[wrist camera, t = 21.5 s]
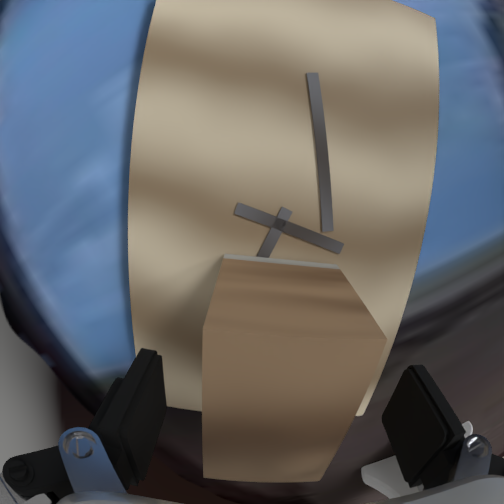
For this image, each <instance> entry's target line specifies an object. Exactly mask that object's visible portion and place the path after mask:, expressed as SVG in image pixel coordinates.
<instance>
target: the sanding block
mask: <svg viewBox="0 0 504 504" xmlns="http://www.w3.org/2000/svg"><path fill="white" fill-rule="evenodd" d="M386 342H387V338H386V336H385V335H384V333H383V332H382V330H381V329H380V327H379V325H378V324H377V322H376V321H375V319H374V318H373V316H372V315H371V313H370V312H369V310H368V309H367V307H366V306H365V304H364V303H363V301H362V300H361V299H360V297H359V296H358V294H357V293H356V291H355V290H354V288H353V287H352V285H351V284H350V283H349V281H348V280H347V278H346V277H345V275H344V274H343V273H342V271H341V270H340V268H339V267H338V266H337V265H336V264H326V263H316V262H305V261H295V260H285V259H274V258H264V257H254V256H244V255H234V254H224V258H223V261H222V264H221V268H220V271H219V274H218V278H217V281H216V285H215V288H214V291H213V295H212V298H211V302H210V305H209V309H208V312H207V316H206V319H205V323H204V326H203V342H202V443H203V475H204V478H213V479H222V480H233V481H248V482H311V481H320V479H321V478H322V476H323V474H324V473H325V471H326V469H327V468H328V466H329V464H330V462H331V461H332V459H333V457H334V455H335V454H336V452H337V450H338V448H339V446H340V445H341V443H342V441H343V439H344V437H345V435H346V433H347V431H348V429H349V427H350V425H351V423H352V421H353V419H354V417H355V415H356V413H357V411H358V409H359V407H360V405H361V403H362V400H363V398H364V396H365V394H366V392H367V389H368V387H369V385H370V382H371V380H372V378H373V375H374V373H375V370H376V368H377V365H378V363H379V360H380V358H381V355H382V353H383V350H384V347H385V345H386Z"/></svg>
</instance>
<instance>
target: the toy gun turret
mask: <svg viewBox="0 0 504 504" xmlns="http://www.w3.org/2000/svg"><path fill="white" fill-rule="evenodd" d="M462 426H463V427H464V429H465V431H466V433H465V434H464V437H465V438H466V437H467V436H469V435H471V434H472V431H473V427H472V425H471V423H470V422H469V421H467V422H465V423H463V424H462ZM361 474H362V479H363V481H364V483H365V484H367V485H369V486H371V487H373V488H375V489H376V490H378V491H379V492H381V493H383V494H384V495H386V496H387V497H388V498H389V499H392V498H396V497H401V496H405V495H409V494H412V493H416V492H420V491H423V488H424V486H423V484H421V485H420V486H416V487H412V488H410V487H409V484H408V482H405V480H404V478H403V475H402V473H401V470H400V467H399V464H398V462H397V459H396V456H395V455H394V456H392V457H389V458H386V459H384V460H381V461H378V462H375V463H372V464H369V465H366V466H363V467H362V468H361Z"/></svg>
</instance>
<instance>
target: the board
mask: <svg viewBox="0 0 504 504" xmlns="http://www.w3.org/2000/svg"><path fill="white" fill-rule="evenodd" d="M438 120H439V60H438V44H437V32H436V22H435V18H433V17H431V16H429V15H427V14H425V13H422V12H420V11H418V10H415V9H413V8H410V7H408V6H405V5H403V4H400V3H397V2H395V1H392V0H156V3H155V7H154V11H153V15H152V19H151V23H150V28H149V32H148V37H147V41H146V46H145V51H144V56H143V62H142V67H141V73H140V79H139V86H138V93H137V100H136V107H135V115H134V124H133V134H132V145H131V158H130V173H129V196H128V263H129V286H130V301H131V314H132V325H133V335H134V344H135V353H136V356H137V354H138V352H139V351H140V349H141V348H145V349H151V350H156V351H157V354H158V355H161V356H162V362H163V373H164V384H165V394H166V403H167V406H170V407H175V408H182V409H188V410H195V411H202V342H203V326H204V323H205V319H206V316H207V312H208V309H209V305H210V302H211V298H212V295H213V291H214V288H215V285H216V281H217V278H218V274H219V271H220V268H221V264H222V261H223V258H224V254H234V255H244V256H254V257H264V258H274V259H285V260H295V261H305V262H316V263H326V264H336V265H337V266H338V267H339V268H340V270H341V271H342V273H343V274H344V275H345V277H346V278H347V280H348V281H349V283H350V284H351V285H352V287H353V288H354V290H355V291H356V293H357V294H358V296H359V297H360V299H361V300H362V301H363V303H364V304H365V306H366V307H367V309H368V310H369V312H370V313H371V315H372V316H373V318H374V319H375V321H376V322H377V324H378V325H379V327H380V329H381V330H382V332H383V333H384V335H385V336H386V338H387V342H386V345H385V347H384V350H383V353H382V355H381V358H380V360H379V363H378V365H377V368H376V370H375V373H374V375H373V378H372V380H371V382H370V385H369V387H368V389H367V392H366V394H365V396H364V398H363V400H362V403H361V405H360V407H359V409H358V411H357V413H356V415H355V416H361V415H363V414H364V412H365V410H366V407H367V405H368V403H369V401H370V399H371V397H372V394H373V392H374V390H375V388H376V385H377V383H378V381H379V378H380V376H381V373H382V371H383V368H384V366H385V363H386V361H387V358H388V356H389V353H390V350H391V348H392V345H393V342H394V339H395V337H396V334H397V331H398V328H399V325H400V322H401V319H402V316H403V313H404V309H405V306H406V303H407V300H408V296H409V293H410V289H411V286H412V282H413V278H414V275H415V271H416V267H417V263H418V259H419V254H420V250H421V246H422V241H423V236H424V232H425V227H426V221H427V216H428V210H429V204H430V198H431V192H432V185H433V177H434V169H435V160H436V150H437V137H438Z"/></svg>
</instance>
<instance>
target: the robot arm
mask: <svg viewBox="0 0 504 504" xmlns="http://www.w3.org/2000/svg"><path fill="white" fill-rule="evenodd" d="M166 408H167V403H166V394H165V384H164V373H163V362H162V356H161V355H158V354H157V351H156V350H151V349H145V348H141V349H140V351H139V352H138V354H137V356H136V358H135V360H134V361H133V363H132V365H131V367H130V369H129V370H128V372H127V374H126V376H125V378H124V379H123V378H116V380H115V381H114V382H113V384H112V386H111V388H110V389H109V391H108V393H107V395H106V397H105V398H104V400H103V402H102V404H101V406H100V407H99V409H98V411H97V413H96V415H95V417H94V419H93V420H92V422H91V424H90V426H89V428H88V429H87V428H81V427H77V428H72V429H69V430H67V431H66V432H64V433H63V434H62V435H61V437H60V439H59V442H58V445H59V446H55V447H52V448H48V449H44V450H40V451H36V452H32V453H27V454H23V455H19V456H15V457H12V458H10V459H9V460H8V461H6V463H5V464H4V466H3V471H2V473H0V504H181V503H175V502H170V501H165V500H158V499H153V498H147V497H142V496H137V495H131V494H127V493H126V491H125V490H128V488H129V486H130V484H131V485H135V486H138V483H139V480H144V479H145V477H146V474H147V470H148V467H149V464H150V461H151V457H152V454H153V451H154V448H155V445H156V441H157V438H158V435H159V432H160V429H161V426H162V423H163V420H164V416H165V413H166ZM382 423H383V425H384V428H385V430H386V433H387V435H388V438H389V440H390V443H391V446H392V448H393V451H394V454H395V456H396V459H397V462H398V464H399V467H400V470H401V473H402V475H403V478H404V480H405V482H408V484H409V487H410V488H412V487H416V486H420V485H421V484H423V486H424V488H423V491H420V492H416V493H412V494H409V495H405V496H401V497H396V498H392V499H387V500H382V501H377V502H372V503H366V504H504V458H501V457H499V456H496V455H494V454H491V453H492V447H491V444H490V442H489V441H488V440H487V439H486V438H485V437H483V436H481V435H478V434H471V435H469V436H467V437H466V438H465V437H464V434H465V433H466V431H465V429H464V427H463V426H462V424H461V422H460V421H459V419H458V418H457V416H456V414H455V413H454V411H453V410H452V408H451V406H450V405H449V403H448V402H447V400H446V399H445V397H444V395H443V394H442V392H441V391H440V389H439V388H438V386H437V385H436V383H435V382H434V380H433V379H432V377H431V376H430V374H429V373H428V371H427V370H426V368H425V367H424V366H423V365H411V366H409V367H408V368H407V369H406V370H404V372H403V374H402V376H401V378H400V381H399V383H398V385H397V387H396V389H395V391H394V393H393V395H392V397H391V399H390V401H389V403H388V405H387V407H386V409H385V411H384V413H383V415H382Z"/></svg>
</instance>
